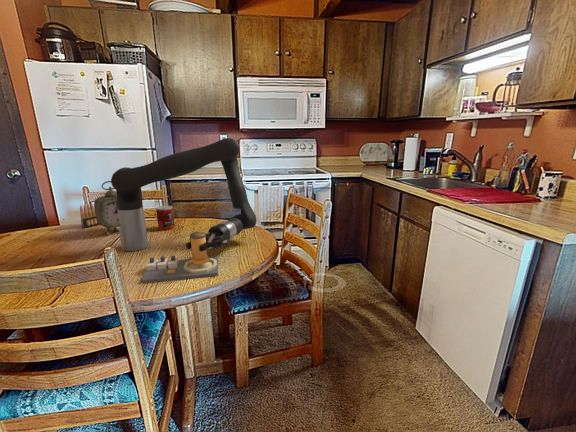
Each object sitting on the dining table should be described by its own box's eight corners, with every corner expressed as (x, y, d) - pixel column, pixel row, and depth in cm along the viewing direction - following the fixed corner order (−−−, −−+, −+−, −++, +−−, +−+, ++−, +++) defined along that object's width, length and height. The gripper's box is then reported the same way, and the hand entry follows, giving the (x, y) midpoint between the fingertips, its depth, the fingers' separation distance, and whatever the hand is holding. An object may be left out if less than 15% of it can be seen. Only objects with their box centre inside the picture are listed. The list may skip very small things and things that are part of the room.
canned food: (165, 231, 145) (162, 209, 142) (155, 228, 149) (152, 207, 146) (178, 227, 152) (175, 206, 149) (168, 225, 156) (165, 204, 153)
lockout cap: (187, 262, 103) (184, 235, 101) (198, 256, 109) (196, 230, 106) (201, 265, 101) (199, 238, 98) (212, 258, 106) (210, 232, 104)
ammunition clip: (84, 228, 150) (79, 205, 147) (82, 228, 151) (77, 205, 148) (105, 223, 159) (101, 201, 156) (103, 222, 160) (99, 201, 157)
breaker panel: (141, 283, 95) (139, 271, 94) (151, 264, 109) (149, 254, 107) (218, 275, 100) (217, 264, 99) (218, 258, 113) (217, 248, 112)
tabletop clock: (105, 237, 138) (95, 183, 131) (97, 233, 143) (87, 182, 136) (136, 229, 149) (129, 179, 142) (127, 226, 154) (120, 178, 147)
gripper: (207, 221, 118) (175, 234, 102) (238, 225, 112) (210, 240, 97) (208, 239, 120) (178, 254, 105) (239, 243, 114) (211, 261, 99)
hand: (193, 247), depth 101 cm, fingers closed on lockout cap, 5 cm apart
